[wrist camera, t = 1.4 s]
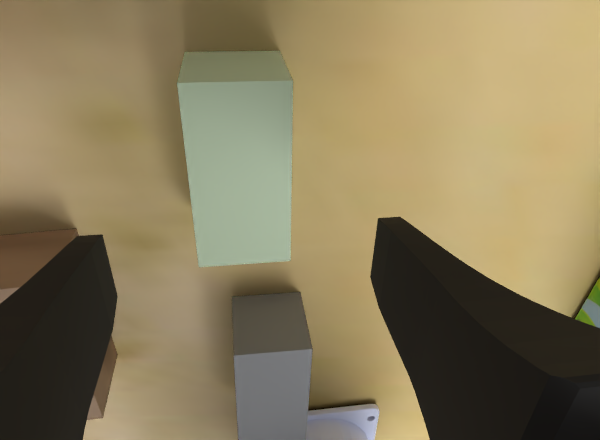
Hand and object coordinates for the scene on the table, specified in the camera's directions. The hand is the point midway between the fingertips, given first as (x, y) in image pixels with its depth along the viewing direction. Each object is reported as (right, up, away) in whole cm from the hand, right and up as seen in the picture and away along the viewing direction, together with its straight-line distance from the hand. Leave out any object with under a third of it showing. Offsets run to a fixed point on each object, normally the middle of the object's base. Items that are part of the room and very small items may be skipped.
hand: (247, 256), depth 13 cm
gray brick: (0, -6, +14) cm, 15 cm away
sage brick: (-1, +4, +7) cm, 8 cm away
